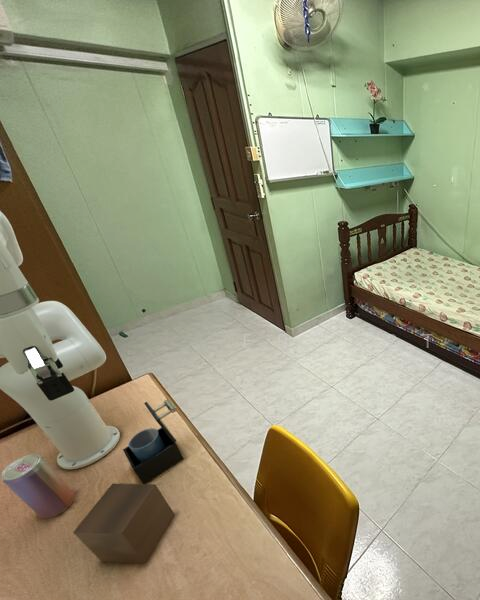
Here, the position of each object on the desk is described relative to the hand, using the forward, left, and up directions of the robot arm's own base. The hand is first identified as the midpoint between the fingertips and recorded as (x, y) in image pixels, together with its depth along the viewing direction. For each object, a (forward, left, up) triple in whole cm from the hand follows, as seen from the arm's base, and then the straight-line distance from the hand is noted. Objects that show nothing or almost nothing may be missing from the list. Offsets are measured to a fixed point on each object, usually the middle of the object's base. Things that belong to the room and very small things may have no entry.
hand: (57, 382), depth 57 cm
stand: (+10, -6, -36) cm, 38 cm away
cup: (-3, +8, -36) cm, 37 cm away
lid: (-2, +11, -25) cm, 27 cm away
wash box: (-3, +8, -36) cm, 37 cm away
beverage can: (-14, -8, -36) cm, 40 cm away
